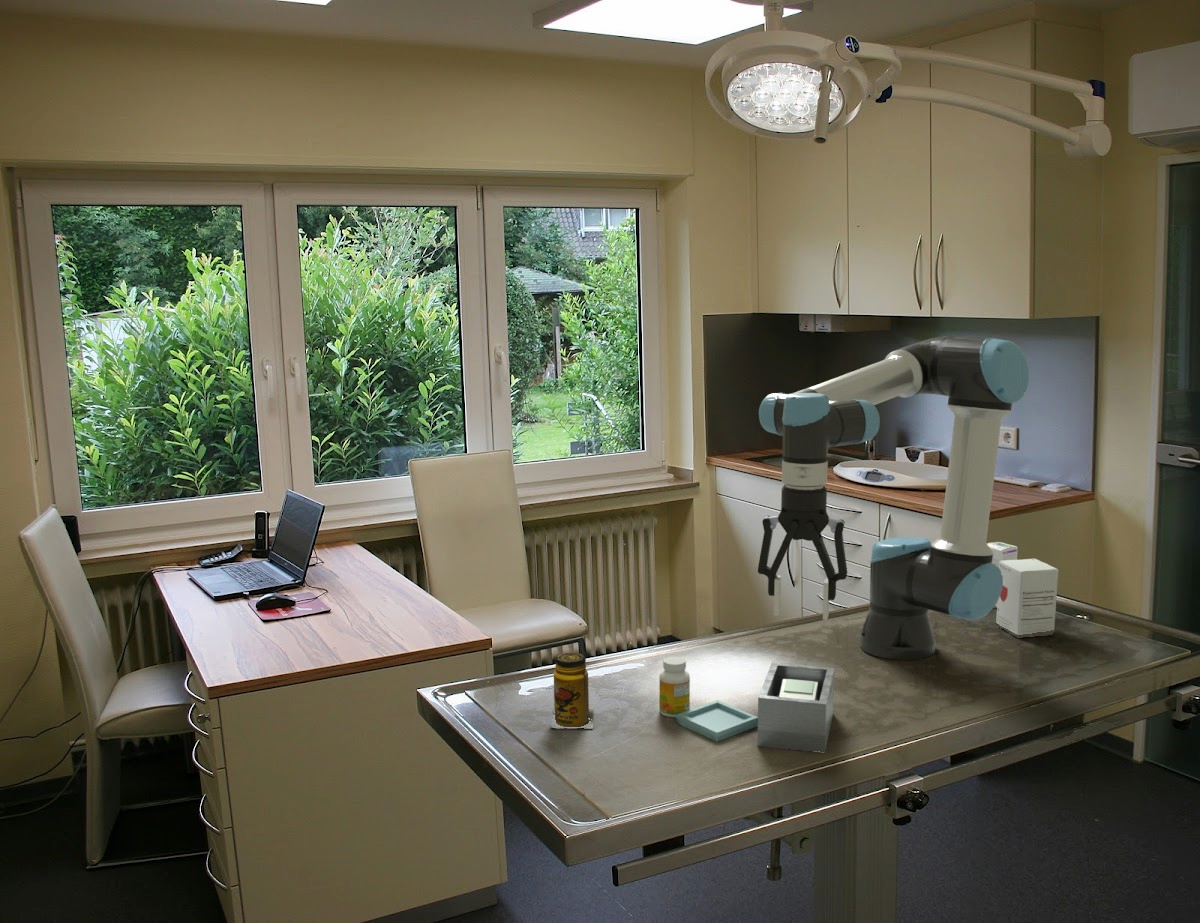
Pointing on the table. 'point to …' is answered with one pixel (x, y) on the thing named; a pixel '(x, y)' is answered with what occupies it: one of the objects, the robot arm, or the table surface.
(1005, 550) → the syrup box
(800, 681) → the block
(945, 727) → the table surface
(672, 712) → the supplement bottle
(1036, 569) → the supplement box
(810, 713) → the guard box
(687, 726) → the tray
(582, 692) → the condiment
